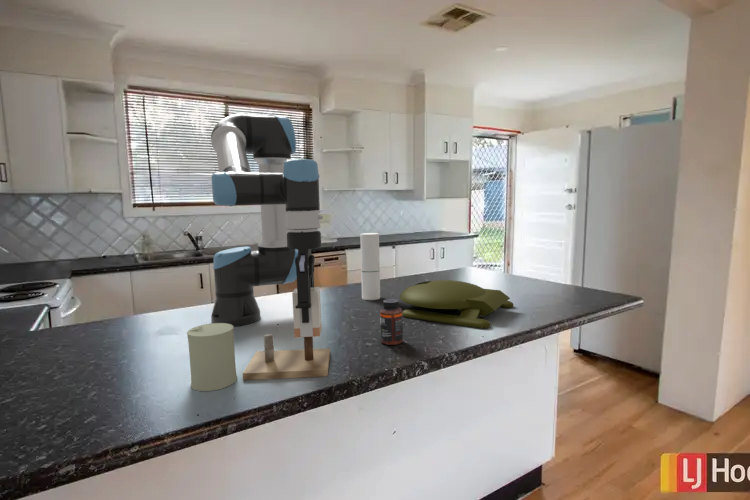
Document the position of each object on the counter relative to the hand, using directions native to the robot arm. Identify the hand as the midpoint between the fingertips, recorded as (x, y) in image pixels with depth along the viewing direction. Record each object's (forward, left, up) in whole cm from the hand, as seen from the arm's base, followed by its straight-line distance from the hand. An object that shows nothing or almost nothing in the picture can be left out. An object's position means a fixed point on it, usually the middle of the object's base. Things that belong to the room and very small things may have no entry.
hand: (308, 331), depth 95 cm
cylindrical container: (+17, +65, -8) cm, 68 cm away
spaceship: (+43, +43, -9) cm, 62 cm away
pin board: (-5, 0, -8) cm, 9 cm away
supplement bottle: (+20, +14, -8) cm, 26 cm away
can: (-20, -6, -8) cm, 22 cm away
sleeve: (0, 0, 0) cm, 0 cm away
